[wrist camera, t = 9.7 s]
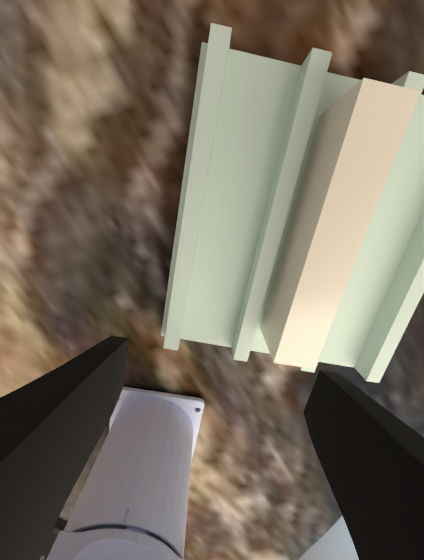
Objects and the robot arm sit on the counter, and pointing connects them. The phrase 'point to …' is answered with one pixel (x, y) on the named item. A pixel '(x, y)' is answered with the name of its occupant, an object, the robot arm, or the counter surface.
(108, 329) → the counter surface
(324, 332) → the clay strip
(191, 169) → the ridged mint rail
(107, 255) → the counter surface
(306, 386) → the counter surface
